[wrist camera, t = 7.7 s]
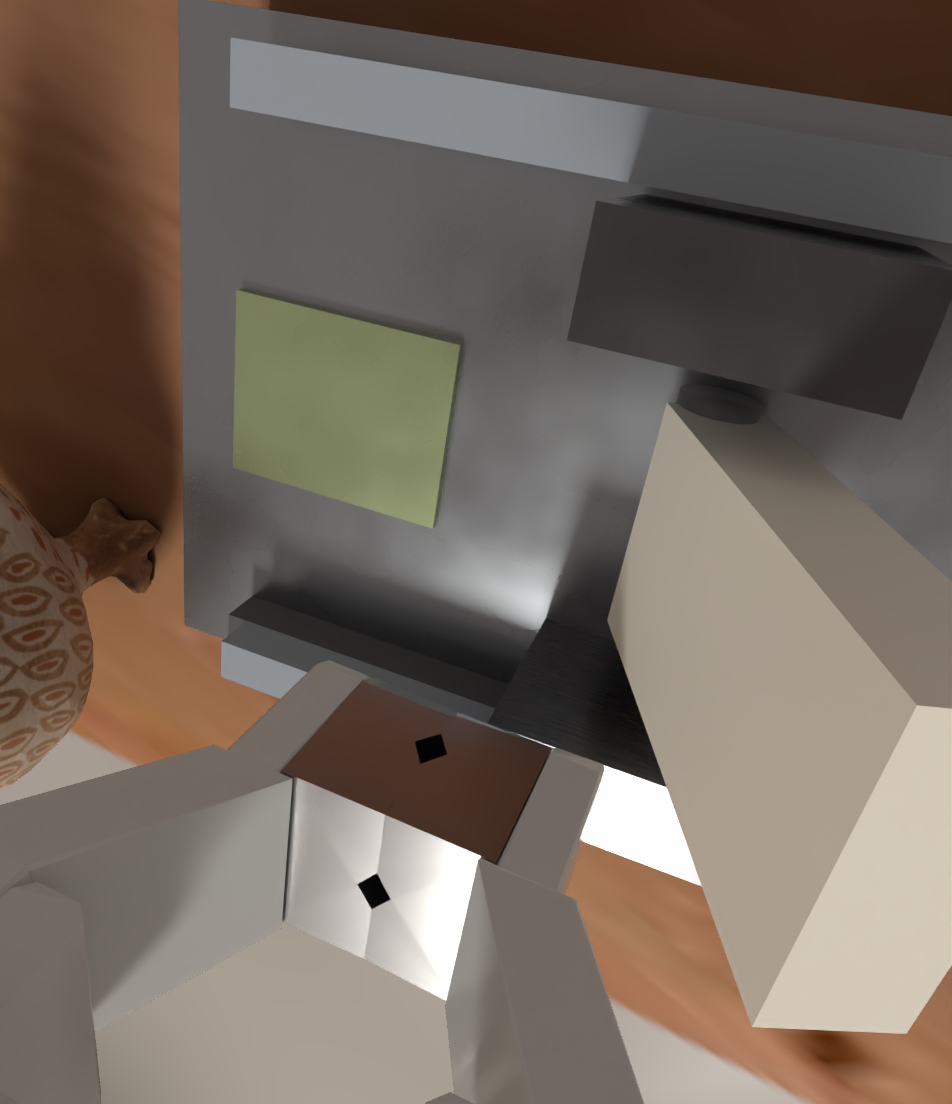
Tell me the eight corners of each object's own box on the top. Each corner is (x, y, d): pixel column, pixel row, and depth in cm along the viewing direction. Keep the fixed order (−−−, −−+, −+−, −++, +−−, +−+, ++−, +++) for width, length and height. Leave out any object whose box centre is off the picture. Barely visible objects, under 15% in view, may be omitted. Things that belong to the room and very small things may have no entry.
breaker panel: (1581, 231, 13) (2305, 283, 7) (1110, 868, 19) (1258, 1188, 13) (267, 21, 18) (-1, -56, 12) (249, 577, 24) (70, 709, 18)
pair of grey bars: (1545, 262, 11) (1688, 280, 9) (1066, 918, 17) (1097, 1003, 15) (271, 48, 15) (203, 32, 13) (250, 629, 21) (202, 669, 19)
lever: (757, 392, 15) (1123, 704, 7) (683, 618, 17) (899, 1044, 9) (659, 378, 14) (927, 686, 7) (597, 609, 17) (746, 1038, 9)
